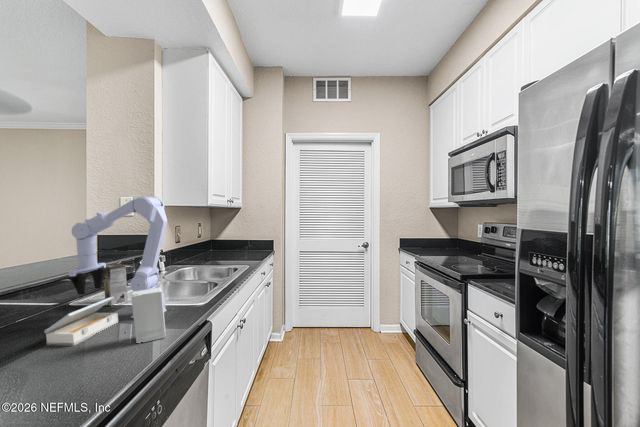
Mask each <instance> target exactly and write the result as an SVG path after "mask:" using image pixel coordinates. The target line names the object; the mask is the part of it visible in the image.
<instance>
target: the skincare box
mask: <svg viewBox="0 0 640 427" xmlns="http://www.w3.org/2000/svg"><path fill="white" fill-rule="evenodd" d="M162 290H163V289H162V287H161V286H159V287H157V288H152V289H147V290H140V291H132V294H131V297H130V298H131V307H132V313H133V314H132V316H133V317H134V318H133V323H134V333H135V334H134V335H135V341H136V343H139V344H142V343H141V342H143V343H146V342H151V341H156V340H160V339H165V338H166V337H167V336H166V334H167V333H166V332H167V331H166V323H165V312H164V310H163V298H162V292H163V291H162Z"/></svg>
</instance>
